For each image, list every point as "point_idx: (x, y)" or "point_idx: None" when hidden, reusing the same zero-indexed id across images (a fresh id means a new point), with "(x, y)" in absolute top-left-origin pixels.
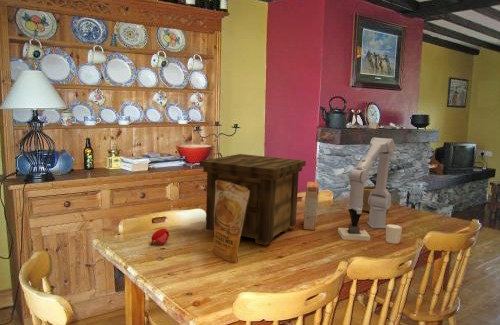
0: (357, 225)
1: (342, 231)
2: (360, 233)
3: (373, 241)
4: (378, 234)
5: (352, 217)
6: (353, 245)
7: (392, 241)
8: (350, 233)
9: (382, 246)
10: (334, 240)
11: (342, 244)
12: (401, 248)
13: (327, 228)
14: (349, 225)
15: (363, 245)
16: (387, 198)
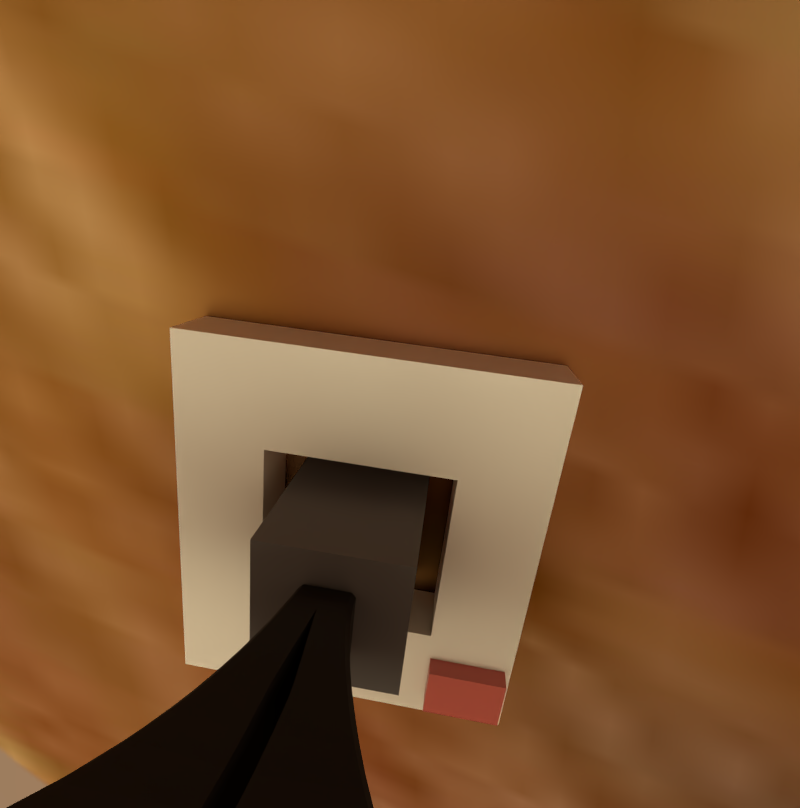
0: None
1: (363, 387)
2: None
3: None
4: (441, 786)
5: (168, 721)
6: (11, 380)
7: None
8: (293, 478)
9: (65, 656)
10: (149, 173)
11: (8, 245)
12: (55, 770)
13: (793, 239)
14: (373, 553)
15: (44, 494)
16: None
